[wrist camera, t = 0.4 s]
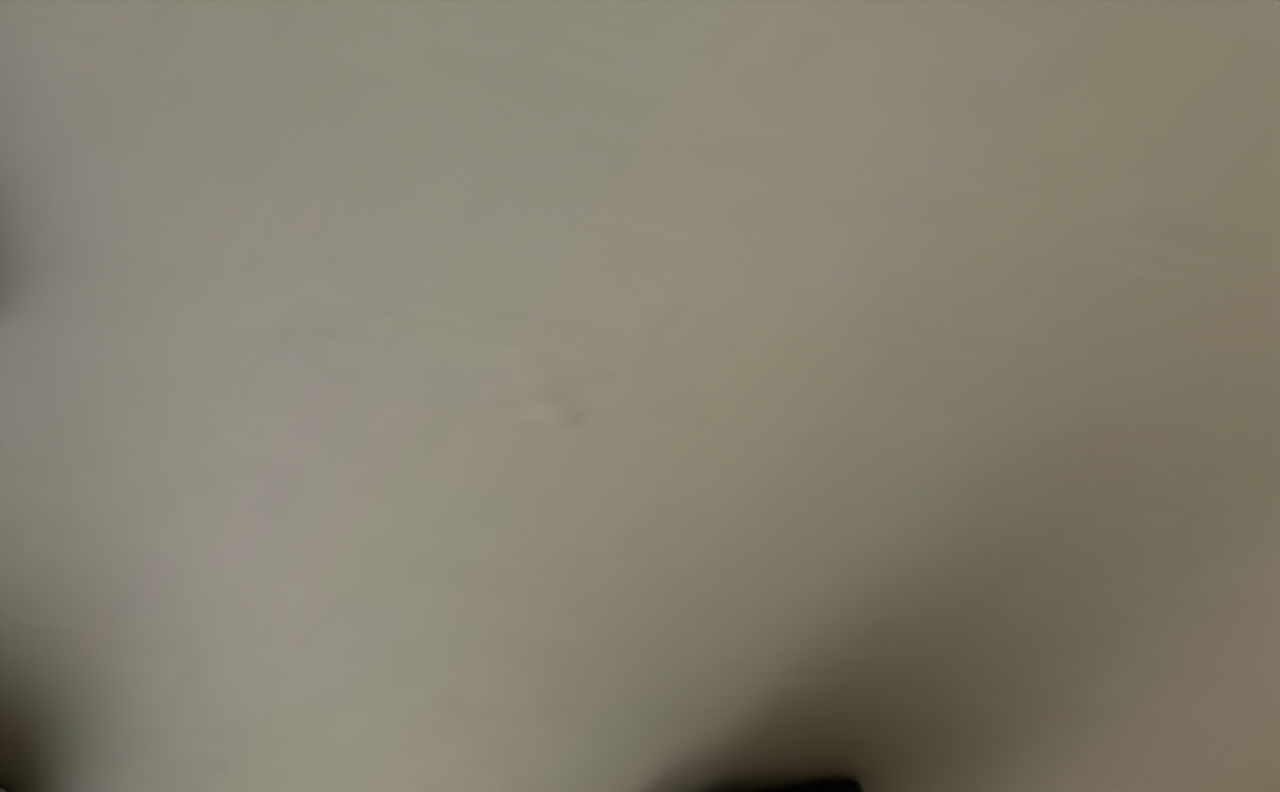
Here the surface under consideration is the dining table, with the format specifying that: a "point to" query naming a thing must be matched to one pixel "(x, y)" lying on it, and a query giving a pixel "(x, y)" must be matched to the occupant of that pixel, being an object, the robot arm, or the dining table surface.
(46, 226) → the dining table surface
